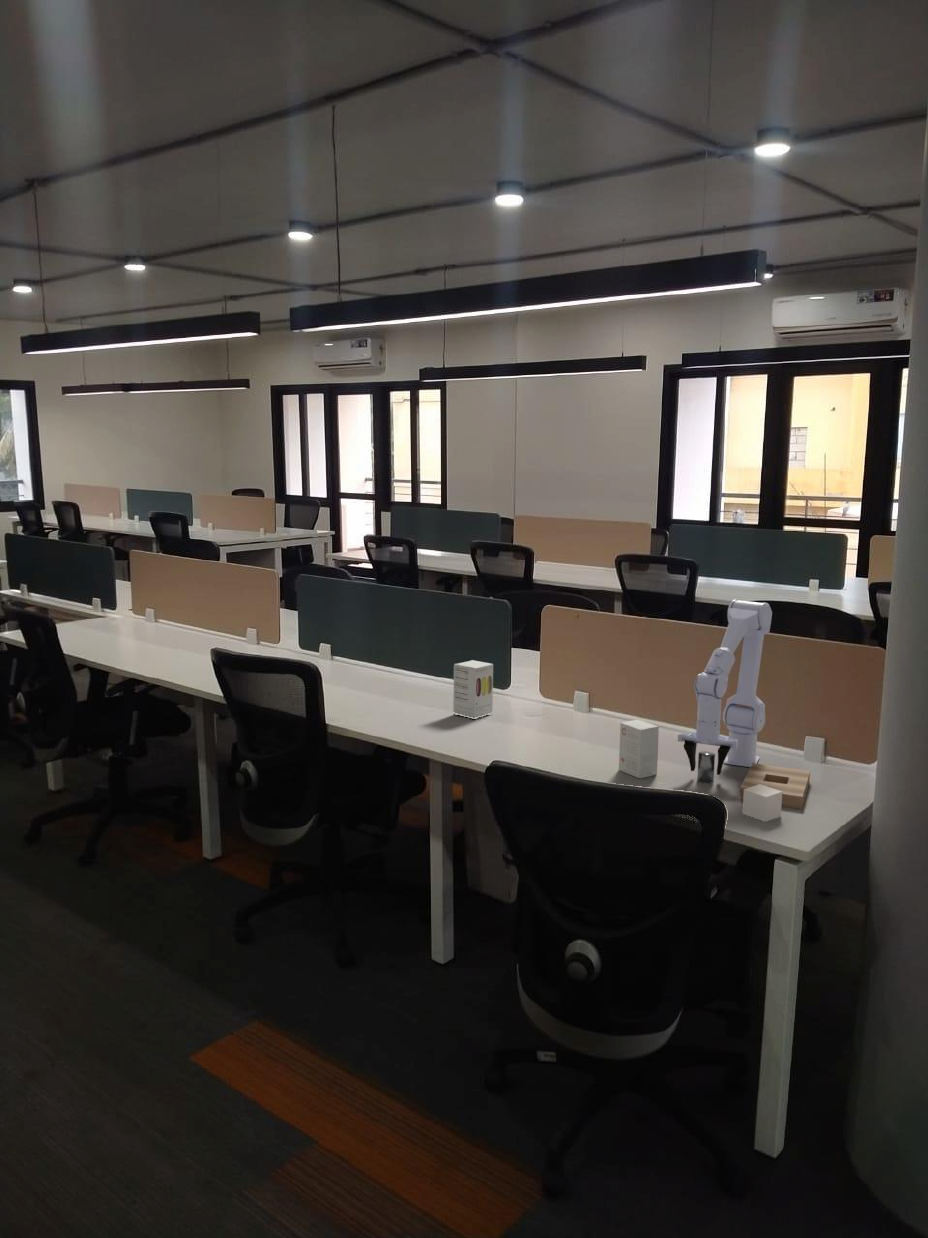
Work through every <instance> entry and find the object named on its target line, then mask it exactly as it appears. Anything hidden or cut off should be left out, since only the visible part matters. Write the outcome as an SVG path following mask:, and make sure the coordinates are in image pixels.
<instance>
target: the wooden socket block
mask: <svg viewBox="0 0 928 1238" xmlns="http://www.w3.org/2000/svg"><path fill="white" fill-rule="evenodd" d="M810 777H811V771H810V770H803V769H796V768H790V767H781V766H774V765H767V764H761V763H757V764H755V763H752V765H751V767H749V770H748V772H747V773H746V776H745V778H744V779H743V782H742V784H741V786H740V791H739V792H740V793H739V800H741V799H743V795H744V789H747V788H750V787H753V786H756V785H759V784H761V785H764V786H767V787H770V788H773V789H776V790H779V791H782V805H781V807H786V808H792V809H799V810H802V809H803V806H804V803H805V800H806V795H807V792H808V789H809V786H810Z"/></svg>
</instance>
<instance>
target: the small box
mask: <svg viewBox="0 0 928 1238" xmlns="http://www.w3.org/2000/svg"><path fill="white" fill-rule="evenodd" d="M619 728H620V730H619V731H620V732H619V751H618V752H619V753H618V755H619V756H618V757H619V758H618V759H619V760H618V771H621V772H623V773H625V774H628V775H631V776H632V777H635V778H636V779H637V778H638V779H644V778H647V777H652V776H656V775H658V759H659V758H658V757H659V755H658V754H659V731H660V730H659V729H660V727H659V726H658V725H655V724H652V723H649V722H646V721H643V720H641V719H634V720H627V721H622V722H620V727H619Z"/></svg>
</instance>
